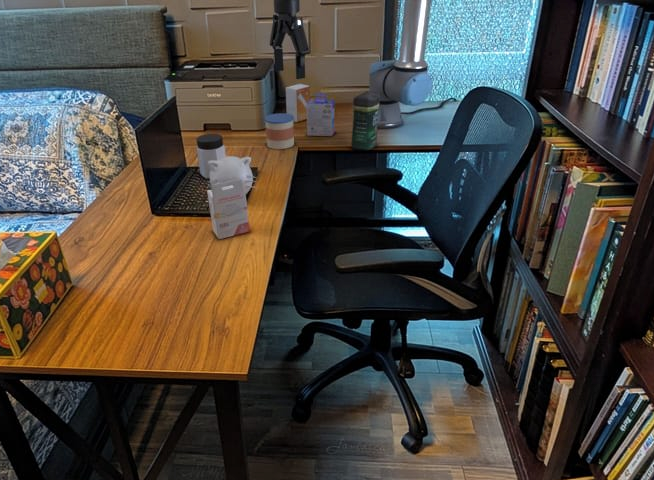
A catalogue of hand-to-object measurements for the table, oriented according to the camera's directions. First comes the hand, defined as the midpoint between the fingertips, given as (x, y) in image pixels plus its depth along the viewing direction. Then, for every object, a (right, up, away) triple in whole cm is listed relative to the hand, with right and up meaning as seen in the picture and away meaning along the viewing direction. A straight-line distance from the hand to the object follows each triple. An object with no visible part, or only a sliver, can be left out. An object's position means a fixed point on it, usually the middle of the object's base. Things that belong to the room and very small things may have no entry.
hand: (289, 74), depth 155 cm
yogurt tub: (-3, -15, +27) cm, 31 cm away
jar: (-24, -30, +6) cm, 39 cm away
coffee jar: (+27, -18, +21) cm, 38 cm away
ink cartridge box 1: (-15, -51, -27) cm, 60 cm away
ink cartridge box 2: (+12, -9, +35) cm, 38 cm away
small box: (+4, +2, +52) cm, 52 cm away
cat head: (-17, -40, -9) cm, 44 cm away
